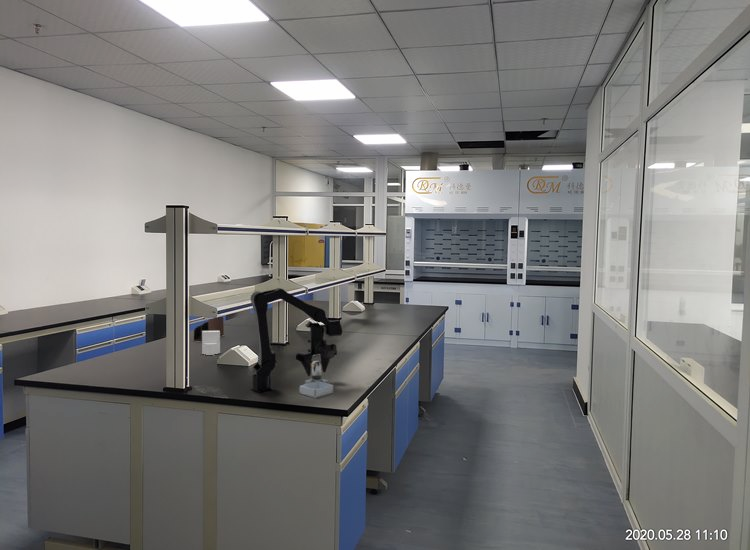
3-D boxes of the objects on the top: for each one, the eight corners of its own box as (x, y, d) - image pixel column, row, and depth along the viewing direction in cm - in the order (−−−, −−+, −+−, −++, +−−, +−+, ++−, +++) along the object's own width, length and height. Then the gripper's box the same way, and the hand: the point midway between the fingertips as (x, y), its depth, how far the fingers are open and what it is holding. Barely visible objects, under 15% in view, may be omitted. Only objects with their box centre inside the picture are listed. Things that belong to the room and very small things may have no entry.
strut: (316, 379, 219) (316, 363, 219) (306, 377, 223) (306, 360, 223) (323, 378, 222) (323, 361, 222) (313, 375, 226) (313, 359, 226)
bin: (314, 397, 202) (314, 390, 202) (299, 393, 208) (299, 385, 208) (333, 392, 210) (333, 385, 210) (317, 388, 216) (317, 380, 216)
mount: (316, 387, 217) (316, 381, 217) (304, 384, 222) (304, 378, 222) (328, 383, 223) (328, 378, 222) (317, 380, 227) (317, 375, 227)
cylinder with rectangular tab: (201, 355, 272) (200, 332, 271) (203, 352, 281) (203, 330, 280) (219, 355, 274) (219, 332, 273) (220, 351, 283) (220, 329, 282)
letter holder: (223, 336, 327) (223, 314, 326) (209, 343, 307) (209, 319, 306) (208, 336, 328) (208, 313, 327) (193, 342, 308) (193, 318, 307)
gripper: (313, 343, 209) (313, 381, 210) (346, 337, 223) (345, 373, 224) (295, 339, 216) (294, 376, 217) (327, 333, 230) (327, 369, 231)
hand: (316, 374), depth 222 cm, fingers open, 8 cm apart
